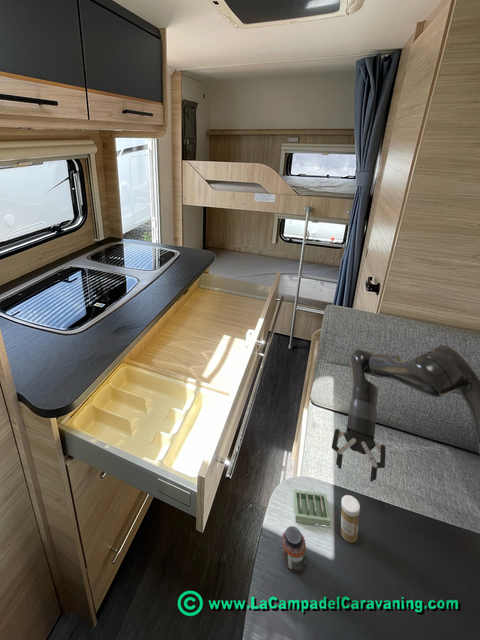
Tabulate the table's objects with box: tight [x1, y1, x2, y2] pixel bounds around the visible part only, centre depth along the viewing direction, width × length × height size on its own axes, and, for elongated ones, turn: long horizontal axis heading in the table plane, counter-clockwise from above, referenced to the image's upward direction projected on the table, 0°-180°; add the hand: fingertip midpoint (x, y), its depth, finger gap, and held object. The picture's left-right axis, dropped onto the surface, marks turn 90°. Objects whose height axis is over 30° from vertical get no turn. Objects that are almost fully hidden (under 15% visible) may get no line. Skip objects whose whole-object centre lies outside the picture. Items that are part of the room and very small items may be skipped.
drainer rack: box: [299, 489, 324, 517], centre depth 98 cm, size 6×5×4 cm
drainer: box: [293, 489, 331, 528], centre depth 98 cm, size 10×8×3 cm
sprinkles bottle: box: [340, 494, 361, 544], centre depth 90 cm, size 5×5×14 cm
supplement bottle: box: [281, 525, 307, 573], centre depth 86 cm, size 6×6×11 cm
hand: (355, 474), depth 95 cm, fingers open, 8 cm apart
